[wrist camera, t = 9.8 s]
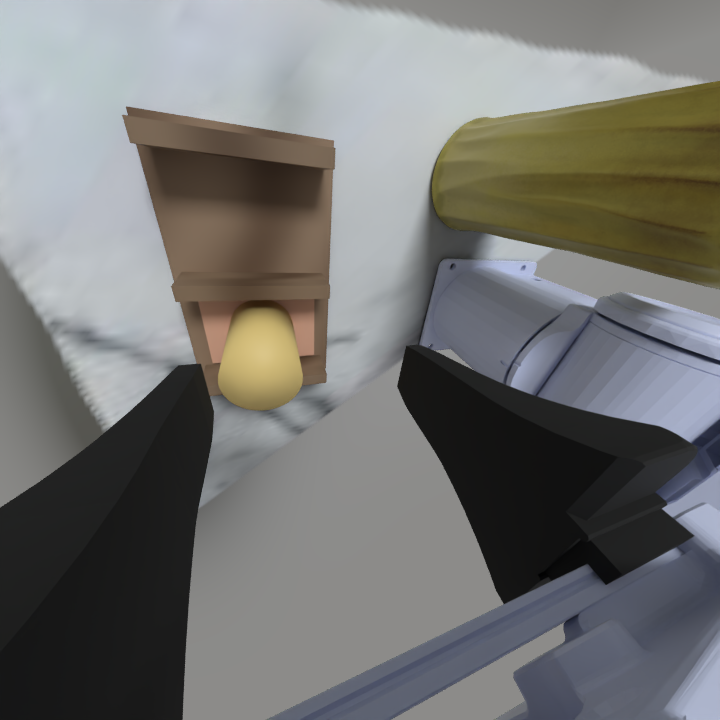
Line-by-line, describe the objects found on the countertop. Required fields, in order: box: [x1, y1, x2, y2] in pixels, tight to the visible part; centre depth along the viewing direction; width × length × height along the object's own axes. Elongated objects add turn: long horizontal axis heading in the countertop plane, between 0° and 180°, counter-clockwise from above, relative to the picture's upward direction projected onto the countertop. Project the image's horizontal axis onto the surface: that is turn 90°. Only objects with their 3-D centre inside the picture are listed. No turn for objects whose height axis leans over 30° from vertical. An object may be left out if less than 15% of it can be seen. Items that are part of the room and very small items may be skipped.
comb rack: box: [122, 107, 335, 396], centre depth 16 cm, size 9×15×3 cm, turn 174°
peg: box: [218, 300, 303, 410], centre depth 16 cm, size 4×4×6 cm
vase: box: [432, 81, 720, 289], centre depth 12 cm, size 6×6×14 cm
